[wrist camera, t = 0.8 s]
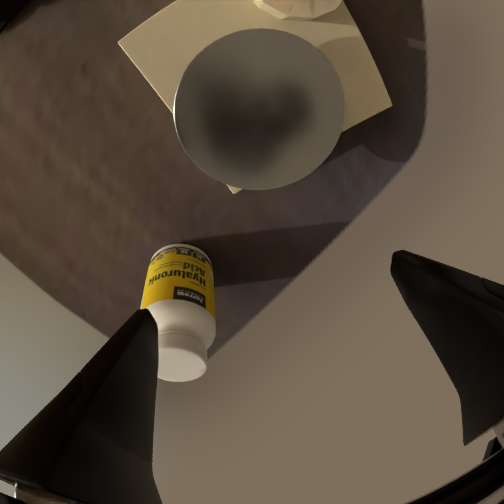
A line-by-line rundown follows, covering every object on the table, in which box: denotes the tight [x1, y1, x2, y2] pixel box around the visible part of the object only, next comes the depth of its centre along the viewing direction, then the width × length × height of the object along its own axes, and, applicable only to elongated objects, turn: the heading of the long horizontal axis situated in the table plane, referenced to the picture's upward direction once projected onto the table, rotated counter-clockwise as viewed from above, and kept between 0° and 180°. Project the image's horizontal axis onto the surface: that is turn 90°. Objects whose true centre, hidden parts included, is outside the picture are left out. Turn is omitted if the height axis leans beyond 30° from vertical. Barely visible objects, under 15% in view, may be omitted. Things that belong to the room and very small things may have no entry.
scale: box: [118, 0, 392, 194], centre depth 15 cm, size 14×14×3 cm
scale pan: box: [173, 28, 345, 190], centre depth 16 cm, size 10×10×1 cm
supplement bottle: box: [141, 244, 216, 382], centre depth 22 cm, size 5×5×10 cm
